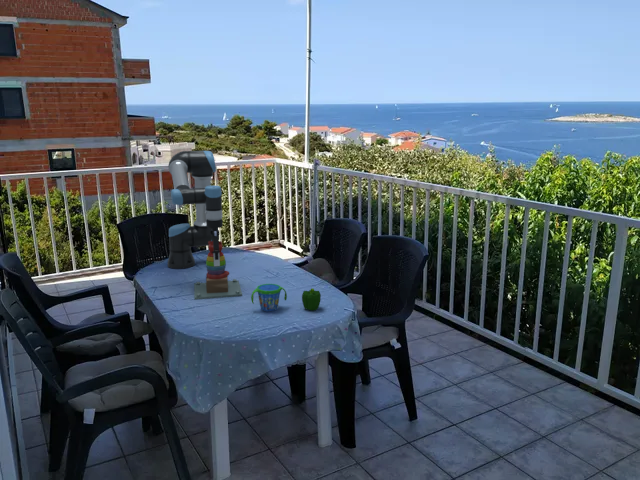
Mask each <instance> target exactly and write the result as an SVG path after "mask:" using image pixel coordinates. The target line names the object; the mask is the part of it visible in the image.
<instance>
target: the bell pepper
mask: <svg viewBox="0 0 640 480" xmlns="http://www.w3.org/2000/svg"><path fill="white" fill-rule="evenodd" d="M321 295H322V294H321V293H320V290H315V289H314V288H311V289H310V290H304V291H303V292H302V295H301V301H302V305H303V309H305V310H308V311H314V310H315V311H316V310H318V309H319V307H320V304H321V300H322V299H321V297H322V296H321Z"/></svg>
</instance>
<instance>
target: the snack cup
mask: <svg viewBox="0 0 640 480" xmlns="http://www.w3.org/2000/svg"><path fill="white" fill-rule="evenodd" d="M282 290H283V292H284V298H283V300H284V301H287V299H288V295H287V291H286V289H285V288H284V287H282V286H281V285H279V284H276V283H262V284H260V285H259V284H258V286H256V288H255V289H254V290H253V291H252V292H251V296H250V297H251V298H250V300H251V302H252V304H253V305H254V304H255V303H254V295H255V293H257V294H258V299H259V300H258V301H259V306H260V310H261V311H263V312H266V313H267V312H274V311H277V310H278V308H279V302H280V294H281V292H282Z"/></svg>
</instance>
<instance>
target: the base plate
mask: <svg viewBox="0 0 640 480" xmlns="http://www.w3.org/2000/svg"><path fill="white" fill-rule="evenodd" d="M193 287H194V290H193V291H194V292H193V293H194V295H193V296H194V297H193V299H194V300H206V299H221V298H234V297H242V296H243V292H242V287H241V284H240V280H238V279H237V278H233V279H232V280H228V292H222V293H207V289H206V282H201V281H196V283H193Z"/></svg>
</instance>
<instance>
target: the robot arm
mask: <svg viewBox="0 0 640 480" xmlns="http://www.w3.org/2000/svg"><path fill="white" fill-rule="evenodd" d="M215 161H216V160H215V156H214V153H213V152H212V151H211V150H184V151H179V152H177V153H175V154H174V155H173V156H172V157H171V158H170V160H169V163H168V170H169V174H170V175H171V178H172V183H173V189H171V191H170V192H171V193H170V194H171V204H173V205H174V206H182V205H184V206H185V205H186V206H187V205H195V218H196V219H195V220H194V221H193V225H190V223H187V222H186V223H180V224H179V223H178V224H175V225H172V226H170V227H169V228H168V237H169V238H168V241H169V256H168V260H167V267H168V268H170V269H175V270H179V269H180V270H181V269H188V268H192V267H194V266H195V265H196V260H195V258H194V255H193V253H192V248H193V247H203V246H204V247H205V246H206V247H208V246H209V244H208V242H209V241H213V249H214V251H212V253H213V255H214V266H220V256H219V252H220V251H219V241H220V230H219V229H220V228H222V227H223V226H224V225H223V224H224V223H223V222H224V221H223V206H222V205H223V204H222V202H223V201H222V200H223V198H222V195H223V192H222V188H221V186H220V185H211V178H213V177H214V173H216V172H217V167H216V162H215ZM188 173H189V174H191V177H192V178H193V179H194V188H191V187H190V181H189V176H188Z"/></svg>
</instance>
